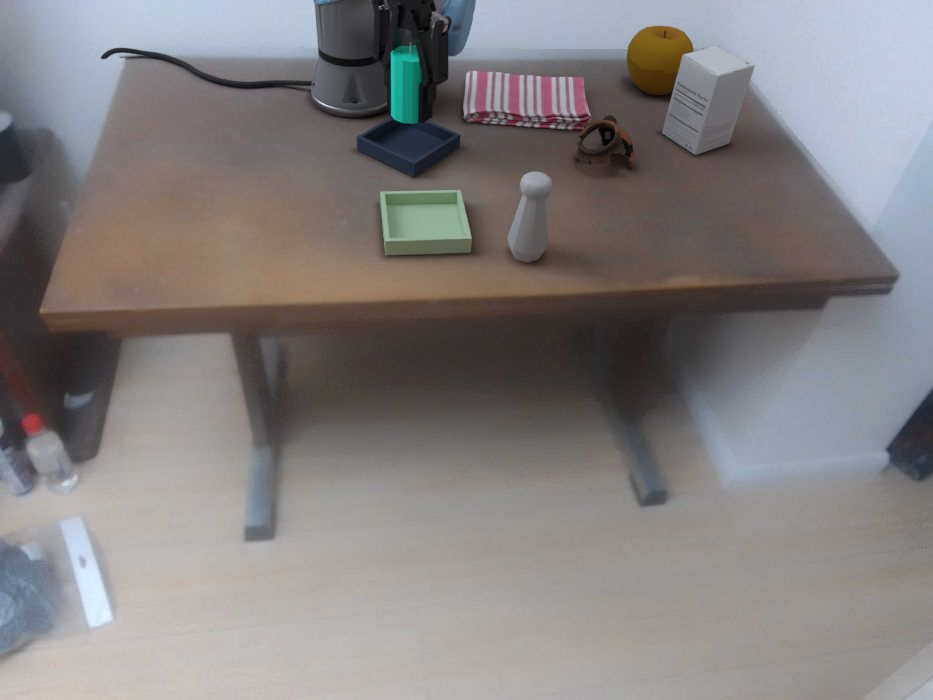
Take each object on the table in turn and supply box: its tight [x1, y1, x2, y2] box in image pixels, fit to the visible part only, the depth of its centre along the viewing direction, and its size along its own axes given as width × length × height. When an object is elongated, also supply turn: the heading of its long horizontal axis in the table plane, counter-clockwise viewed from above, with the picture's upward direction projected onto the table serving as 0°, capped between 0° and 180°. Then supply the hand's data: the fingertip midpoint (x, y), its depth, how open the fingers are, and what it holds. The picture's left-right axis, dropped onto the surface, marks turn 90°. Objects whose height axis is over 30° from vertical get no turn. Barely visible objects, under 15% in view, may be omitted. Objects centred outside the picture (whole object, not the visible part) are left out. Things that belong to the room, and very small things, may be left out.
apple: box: [626, 25, 695, 96], centre depth 149 cm, size 13×13×11 cm
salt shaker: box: [507, 171, 553, 264], centre depth 107 cm, size 6×6×13 cm
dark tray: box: [356, 116, 462, 178], centre depth 129 cm, size 12×12×3 cm
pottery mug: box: [576, 114, 635, 170], centre depth 130 cm, size 12×9×8 cm
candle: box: [390, 42, 423, 124], centre depth 121 cm, size 6×6×12 cm
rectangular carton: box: [661, 44, 756, 156], centre depth 134 cm, size 9×9×15 cm
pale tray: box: [379, 189, 473, 256], centre depth 114 cm, size 12×12×3 cm
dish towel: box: [462, 69, 592, 131], centre depth 143 cm, size 17×23×4 cm
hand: (409, 112), depth 125 cm, fingers closed on candle, 6 cm apart
